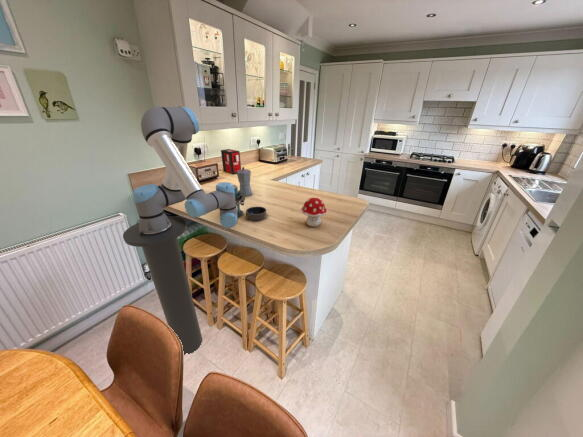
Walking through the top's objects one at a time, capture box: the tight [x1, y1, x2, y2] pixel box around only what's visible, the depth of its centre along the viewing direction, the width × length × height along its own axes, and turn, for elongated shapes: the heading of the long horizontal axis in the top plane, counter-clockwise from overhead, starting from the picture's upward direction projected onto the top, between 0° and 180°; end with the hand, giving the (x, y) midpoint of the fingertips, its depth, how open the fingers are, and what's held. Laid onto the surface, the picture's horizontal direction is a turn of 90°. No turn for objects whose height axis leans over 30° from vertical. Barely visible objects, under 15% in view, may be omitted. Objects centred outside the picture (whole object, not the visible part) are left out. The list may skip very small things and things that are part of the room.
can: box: [233, 184, 241, 214], centre depth 132 cm, size 8×8×16 cm
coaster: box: [237, 209, 244, 218], centre depth 136 cm, size 11×11×1 cm
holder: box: [245, 206, 268, 222], centre depth 133 cm, size 12×12×4 cm
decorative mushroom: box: [300, 197, 328, 228], centre depth 123 cm, size 14×14×15 cm
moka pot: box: [236, 166, 253, 198], centre depth 163 cm, size 10×15×20 cm, turn 16°
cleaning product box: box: [220, 148, 242, 175], centre depth 219 cm, size 16×9×20 cm, turn 48°
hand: (231, 193), depth 136 cm, fingers closed on can, 8 cm apart
